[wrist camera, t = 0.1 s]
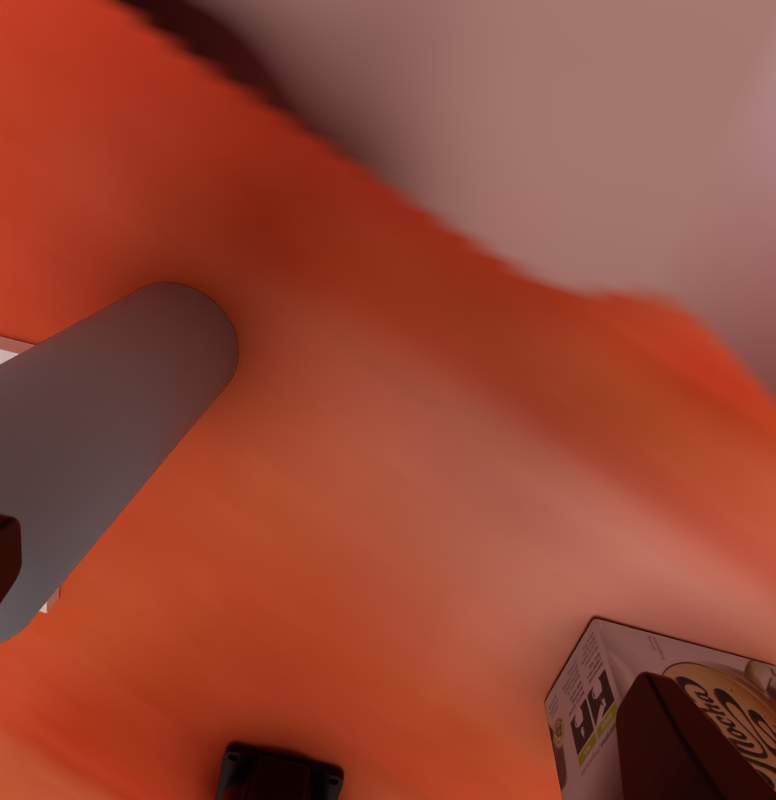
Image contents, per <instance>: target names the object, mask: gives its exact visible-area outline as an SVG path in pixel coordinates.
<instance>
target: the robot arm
mask: <svg viewBox="0 0 776 800" xmlns="http://www.w3.org/2000/svg"><path fill="white" fill-rule="evenodd" d="M21 566H22V540H21V524H20V522H19V520H18V519H17V518H15V517H12V516H8V515H4V514H0V604H1V602H2V601H3V599H4V598H5V596H6V595H7V593H8V592H9V590H10V589H11V587H12V586H13V584H14V583H15V581H16V579H17V578H18V575H19V573H20V570H21ZM616 734H617V744H618V753H619V763H620V773H621V783H622V793H623V800H776V791H775V790H774V789H773V788H772V787H771V786H770V785H769V784H768V782H767V781H766V780H765V779H764V778H763V777H762V776H761V775H760V774H759V773H758V771H757V770H756V769H755V768H754V767H753V766H752V765H751V764H750V763H749V762H748V761H747V759H746V758H745V757H744V756H743V755H742V754H741V753H740V752H739V751H738V750H737V748H736V747H735V746H734V745H733V744H732V743H731V742H730V741H729V740H728V739H727V737H726V736H725V735H724V734H723V733H722V732H721V731H720V730H719V729H718V728H717V726H716V725H715V724H714V723H713V722H712V721H711V720H710V719H709V718H708V717H707V715H706V714H705V713H704V712H703V711H702V710H701V709H700V708H699V707H698V706H697V704H696V703H695V702H694V701H693V700H692V699H691V698H690V697H689V696H688V695H687V694H686V692H685V691H684V690H683V689H682V688H681V687H680V686H679V685H678V684H677V683H676V682H675V681H674V680H673V679H672V678H670V677H668V676H664V675H660V674H656V673H652V672H648V671H643V672H641V673H639V674H638V675H637V677H636V678H635V680H634V682H633V683H632V685H631V687H630V688H629V690H628V692H627V693H626V695H625V697H624V698H623V700H622V702H621V703H620V705H619V707H618V710H617V714H616ZM343 779H344V774H343V772H342V771H341V770H339V769H336V768H331V767H327V766H323V765H319V764H315V763H310V762H306V761H302V760H298V759H294V758H289V757H285V756H281V755H277V754H273V753H268V752H264V751H260V750H256V749H252V748H248V747H243V746H239V745H233V744H232V745H229V746H227V748H226V750H225V753H224V756H223V761H222V767H221V772H220V777H219V783H218V788H217V793H216V798H215V800H338V797H339V794H340V791H341V788H342V785H343Z"/></svg>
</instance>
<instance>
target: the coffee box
mask: <svg viewBox="0 0 776 800" xmlns="http://www.w3.org/2000/svg"><path fill="white" fill-rule="evenodd" d="M643 671H648V672H652V673H656V674H660V675H664V676H668V677H670V678H672V679H673V680H674V681H675V682H676V683H677V684H678V685H679V686H680V687H681V688H682V689H683V690H684V691H685V692H686V694H687V695H688V696H689V697H690V698H691V699H692V700H693V701H694V702H695V703H696V704H697V706H698V707H699V708H700V709H701V710H702V711H703V712H704V713H705V714H706V715H707V717H708V718H709V719H710V720H711V721H712V722H713V723H714V724H715V725H716V726H717V728H718V729H719V730H720V731H721V732H722V733H723V734H724V735H725V736H726V737H727V739H728V740H729V741H730V742H731V743H732V744H733V745H734V746H735V747H736V748H737V750H738V751H739V752H740V753H741V754H742V755H743V756H744V757H745V758H746V759H747V761H748V762H749V763H750V764H751V765H752V766H753V767H754V768H755V769H756V770H757V771H758V773H759V774H760V775H761V776H762V777H763V778H764V779H765V780H766V781H767V782H768V784H769V785H770V786H771V787H772V788H773V789H774V790H775V791H776V666H773V665H770V664H766V663H762V662H758V661H755V660H751V659H747V658H743V657H740V656H736V655H732V654H728V653H725V652H721V651H717V650H713V649H709V648H706V647H702V646H698V645H694V644H691V643H687V642H683V641H679V640H675V639H672V638H668V637H664V636H660V635H656V634H652V633H649V632H645V631H641V630H637V629H633V628H630V627H626V626H622V625H619V624H615V623H611V622H607V621H604V620H600V619H594V620H593V621H592V622H591V624H590V625H589V627H588V629H587V631H586V632H585V634H584V635H583V637H582V639H581V641H580V642H579V644H578V646H577V648H576V649H575V651H574V653H573V654H572V656H571V658H570V659H569V661H568V663H567V665H566V666H565V668H564V670H563V672H562V673H561V675H560V677H559V678H558V680H557V682H556V683H555V685H554V687H553V689H552V690H551V692H550V694H549V696H548V697H547V699H546V702H545V709H546V715H547V720H548V725H549V729H550V735H551V740H552V746H553V751H554V756H555V761H556V767H557V773H558V778H559V783H560V788H561V796H562V800H623V793H622V783H621V773H620V763H619V753H618V744H617V734H616V714H617V710H618V707H619V705H620V703H621V702H622V700H623V698H624V697H625V695H626V693H627V692H628V690H629V688H630V687H631V685H632V683H633V682H634V680H635V678H636V677H637V675H638V674H639V673H641V672H643Z"/></svg>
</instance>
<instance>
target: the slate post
mask: <svg viewBox="0 0 776 800" xmlns="http://www.w3.org/2000/svg"><path fill="white" fill-rule="evenodd" d="M237 362H238V343H237V338H236V335H235V332H234V329H233V327H232V325H231V323H230V321H229V319H228V318H227V316H226V314H225V313H224V312H223V311H222V309H221V308H220V307H219V306H218V305H217V304H216V303H215V302H214V301H213V300H211V299H210V298H209V297H207V296H206V295H204V294H203V293H201V292H200V291H198V290H195V289H193V288H191V287H188V286H185V285H182V284H177V283H166V282H165V283H155V284H151V285H148V286H145V287H142V288H141V289H139V290H137V291H135V292H133V293H131V294H129V295H128V296H126V297H124V298H122V299H120V300H118V301H116V302H115V303H113V304H111V305H109V306H107V307H105V308H104V309H102V310H100V311H98V312H96V313H94V314H92V315H91V316H89V317H87V318H85V319H83V320H81V321H79V322H78V323H76V324H74V325H72V326H70V327H68V328H67V329H65V330H63V331H61V332H59V333H57V334H55V335H54V336H52V337H50V338H48V339H46V340H44V341H42V342H41V343H39V344H37V345H35V346H33V347H31V348H29V349H28V350H26V351H24V352H22V353H20V354H18V355H17V356H15V357H13V358H11V359H9V360H7V361H5V362H4V363H2V364H0V514H4V515H8V516H12V517H15V518H17V519H18V520H19V522H20V524H21V540H22V566H21V570H20V573H19V575H18V578H17V579H16V581H15V583H14V584H13V586H12V587H11V589H10V590H9V592H8V593H7V595H6V596H5V598H4V599H3V601H2V602H1V604H0V643H1V642H3V641H6V640H8V639H10V638H12V637H13V636H15V635H17V634H18V633H19V632H20V631H22V630H23V629H24V628H25V627H26V626H27V625H28V624H29V622H30V621H31V620H32V619H33V617H34V616H35V615H36V614H37V613H38V611H39V610H40V609H41V608H42V607H43V605H44V604H45V603H46V602H47V601H48V599H49V598H50V597H51V596H52V595H53V593H54V592H55V591H56V590H57V589H58V587H59V586H60V585H61V584H62V583H63V581H64V580H65V579H66V578H67V577H68V575H69V574H70V573H71V572H72V571H73V569H74V568H75V567H76V566H77V565H78V563H79V562H80V561H81V560H82V559H83V557H84V556H85V555H86V554H87V553H88V551H89V550H90V549H91V548H92V547H93V545H94V544H95V543H96V542H97V541H98V539H99V538H100V537H101V536H102V534H103V533H104V532H105V531H106V530H107V528H108V527H109V526H110V525H111V524H112V522H113V521H114V520H115V519H116V518H117V516H118V515H119V514H120V513H121V512H122V510H123V509H124V508H125V507H126V506H127V504H128V503H129V502H130V501H131V500H132V498H133V497H134V496H135V495H136V494H137V492H138V491H139V490H140V489H141V488H142V486H143V485H144V484H145V483H146V482H147V480H148V479H149V478H150V477H151V476H152V474H153V473H154V472H155V471H156V470H157V468H158V467H159V466H160V465H161V464H162V462H163V461H164V460H165V459H166V458H167V456H168V455H169V454H170V453H171V452H172V450H173V449H174V448H175V447H176V445H177V444H178V443H179V442H180V441H181V439H182V438H183V437H184V436H185V435H186V433H187V432H188V431H189V430H190V429H191V427H192V426H193V425H194V424H195V423H196V421H197V420H198V419H199V418H200V417H201V415H202V414H203V413H204V412H205V411H206V409H207V408H208V407H209V406H210V405H211V403H212V402H213V401H214V400H215V399H216V397H217V396H218V395H219V394H220V393H221V391H222V390H223V389H224V388H225V387H226V385H227V384H228V383H229V381H230V380H231V378H232V377H233V375H234V372H235V370H236V367H237Z"/></svg>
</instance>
